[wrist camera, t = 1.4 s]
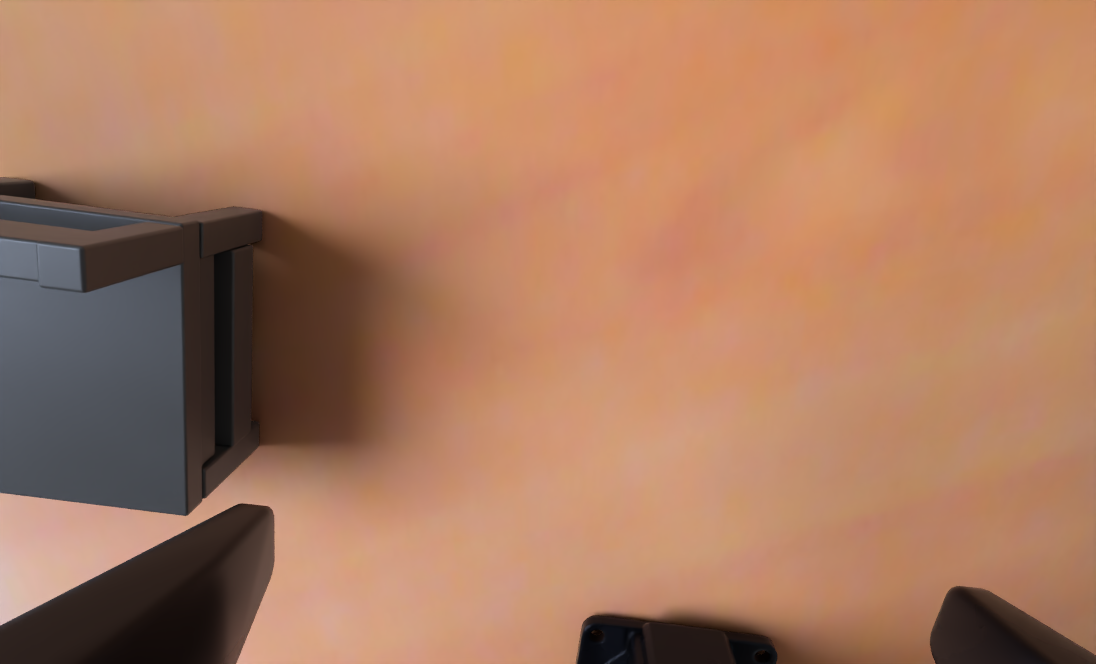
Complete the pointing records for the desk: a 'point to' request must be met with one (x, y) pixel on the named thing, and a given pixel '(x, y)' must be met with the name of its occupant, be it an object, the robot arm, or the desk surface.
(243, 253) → the chair
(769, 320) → the desk surface
